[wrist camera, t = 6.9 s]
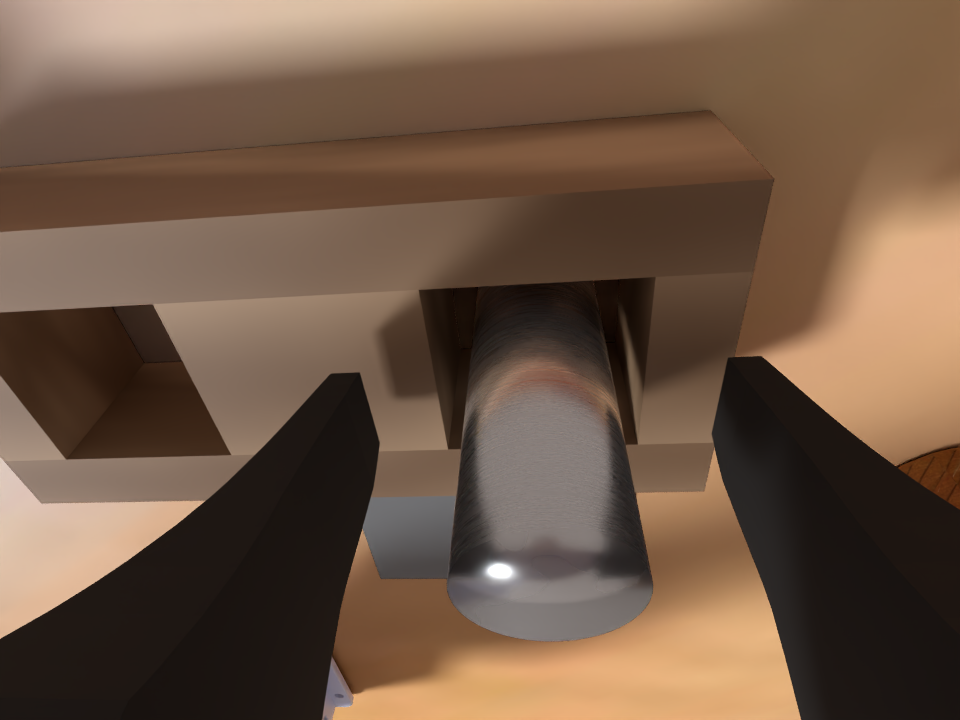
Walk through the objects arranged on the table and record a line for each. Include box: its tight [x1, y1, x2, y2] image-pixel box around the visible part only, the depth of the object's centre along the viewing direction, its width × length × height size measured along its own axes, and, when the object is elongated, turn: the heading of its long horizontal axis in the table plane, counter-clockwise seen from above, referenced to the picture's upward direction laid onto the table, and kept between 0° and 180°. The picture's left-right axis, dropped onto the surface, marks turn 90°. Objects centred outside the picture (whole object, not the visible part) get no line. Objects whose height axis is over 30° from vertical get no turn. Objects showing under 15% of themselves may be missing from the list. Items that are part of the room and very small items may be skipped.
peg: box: [447, 280, 653, 641], centre depth 12 cm, size 3×3×9 cm
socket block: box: [0, 111, 774, 503], centre depth 14 cm, size 8×18×4 cm, turn 95°
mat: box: [363, 496, 456, 579], centre depth 21 cm, size 9×10×1 cm
